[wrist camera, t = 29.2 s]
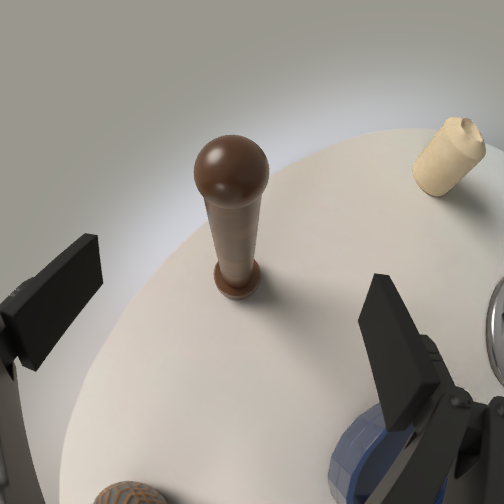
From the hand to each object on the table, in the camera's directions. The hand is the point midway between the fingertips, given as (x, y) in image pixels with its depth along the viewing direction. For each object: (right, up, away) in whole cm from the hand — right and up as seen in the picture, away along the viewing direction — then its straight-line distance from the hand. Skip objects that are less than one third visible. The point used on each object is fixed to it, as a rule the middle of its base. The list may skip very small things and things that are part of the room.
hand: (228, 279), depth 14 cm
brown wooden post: (0, -1, +15) cm, 15 cm away
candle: (+23, +10, +20) cm, 32 cm away
